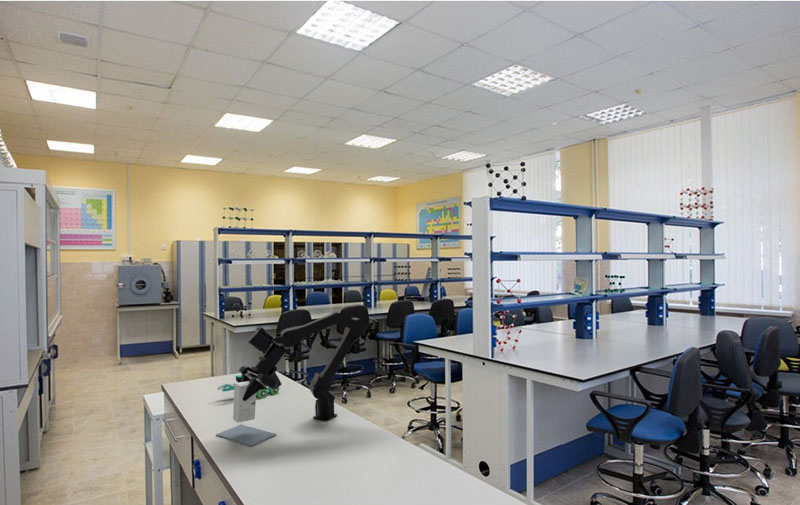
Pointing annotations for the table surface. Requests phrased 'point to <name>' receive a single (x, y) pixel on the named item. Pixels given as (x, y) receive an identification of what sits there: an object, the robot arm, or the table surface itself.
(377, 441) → the table surface
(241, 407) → the skincare box
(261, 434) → the blue-gray mat
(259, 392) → the robot kit
